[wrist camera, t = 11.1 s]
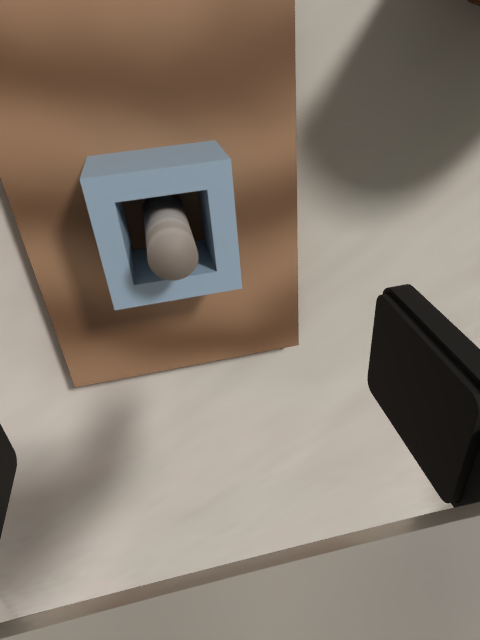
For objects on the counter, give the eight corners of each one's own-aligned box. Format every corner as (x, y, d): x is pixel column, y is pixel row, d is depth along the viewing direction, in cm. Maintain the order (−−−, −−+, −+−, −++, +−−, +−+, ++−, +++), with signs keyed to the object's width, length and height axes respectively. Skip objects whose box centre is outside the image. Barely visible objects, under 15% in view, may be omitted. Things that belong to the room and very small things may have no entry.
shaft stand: (-62, -24, 18) (-157, -53, 12) (285, -49, 20) (354, -85, 14) (76, 375, 29) (63, 465, 23) (292, 334, 30) (333, 408, 24)
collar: (87, 156, 21) (79, 179, 18) (215, 140, 22) (230, 158, 19) (116, 272, 24) (114, 310, 21) (227, 254, 25) (242, 288, 22)
